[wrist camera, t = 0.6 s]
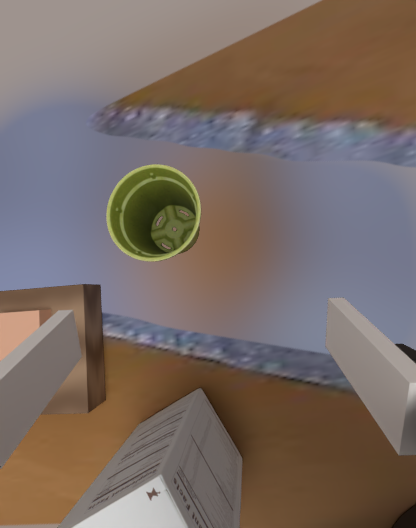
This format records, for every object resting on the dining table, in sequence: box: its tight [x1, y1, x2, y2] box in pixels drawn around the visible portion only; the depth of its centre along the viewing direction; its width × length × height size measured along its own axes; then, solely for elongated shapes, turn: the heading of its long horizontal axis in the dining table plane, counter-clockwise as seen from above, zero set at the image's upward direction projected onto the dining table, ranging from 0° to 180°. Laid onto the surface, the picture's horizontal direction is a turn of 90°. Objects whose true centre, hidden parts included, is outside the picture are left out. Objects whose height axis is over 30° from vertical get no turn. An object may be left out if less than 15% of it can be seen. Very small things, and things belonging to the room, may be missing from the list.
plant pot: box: [107, 164, 201, 262], centre depth 33 cm, size 9×9×9 cm
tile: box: [0, 309, 51, 361], centre depth 34 cm, size 9×6×2 cm, turn 4°
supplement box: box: [57, 388, 242, 528], centre depth 27 cm, size 10×9×17 cm
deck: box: [0, 284, 106, 414], centre depth 37 cm, size 14×18×4 cm
